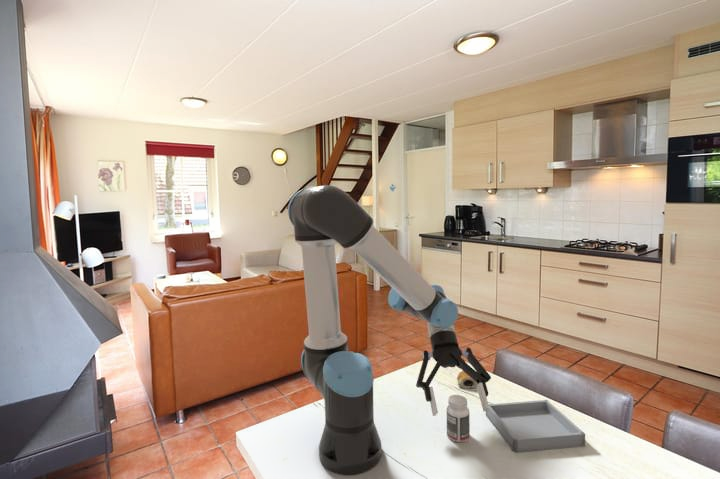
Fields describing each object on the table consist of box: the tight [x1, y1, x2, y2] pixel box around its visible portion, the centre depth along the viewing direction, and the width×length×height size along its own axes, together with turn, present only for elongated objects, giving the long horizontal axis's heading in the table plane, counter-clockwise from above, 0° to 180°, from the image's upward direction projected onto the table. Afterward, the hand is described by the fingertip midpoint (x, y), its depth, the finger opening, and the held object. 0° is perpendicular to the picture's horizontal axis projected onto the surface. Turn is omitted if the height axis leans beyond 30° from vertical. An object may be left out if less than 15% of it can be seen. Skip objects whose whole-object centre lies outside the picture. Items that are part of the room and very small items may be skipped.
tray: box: [485, 399, 586, 454], centre depth 100 cm, size 18×16×3 cm
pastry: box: [456, 370, 478, 389], centre depth 126 cm, size 9×7×4 cm
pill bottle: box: [446, 394, 471, 443], centre depth 98 cm, size 6×6×10 cm
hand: (461, 412), depth 98 cm, fingers open, 13 cm apart
